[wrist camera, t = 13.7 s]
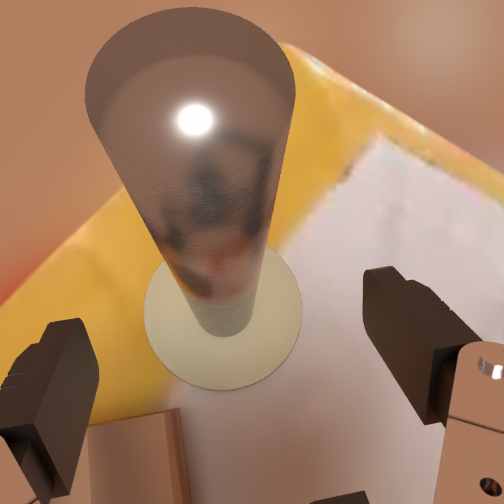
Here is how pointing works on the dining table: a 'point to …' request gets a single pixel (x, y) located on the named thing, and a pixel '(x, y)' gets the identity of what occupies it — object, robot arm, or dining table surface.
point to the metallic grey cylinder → (198, 146)
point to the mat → (224, 348)
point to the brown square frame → (132, 463)
